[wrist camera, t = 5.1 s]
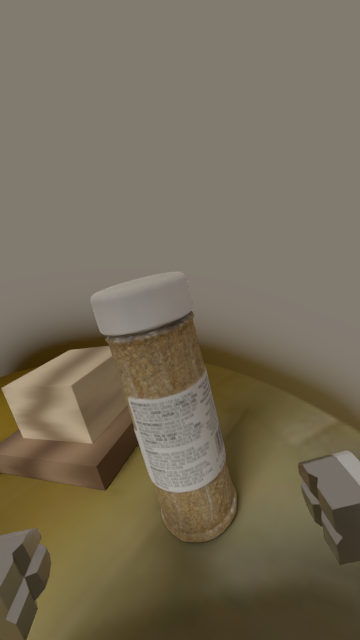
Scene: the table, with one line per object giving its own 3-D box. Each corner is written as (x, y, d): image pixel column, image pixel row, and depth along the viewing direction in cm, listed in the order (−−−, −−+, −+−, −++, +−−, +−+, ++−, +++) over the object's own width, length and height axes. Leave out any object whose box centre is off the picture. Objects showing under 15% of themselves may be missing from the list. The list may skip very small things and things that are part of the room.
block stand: (-4, 472, 23) (-38, 401, 22) (87, 395, 34) (69, 344, 32) (105, 490, 18) (71, 401, 17) (172, 394, 29) (155, 334, 27)
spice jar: (177, 472, 18) (121, 281, 15) (243, 477, 17) (195, 264, 14) (149, 541, 14) (65, 299, 11) (234, 557, 13) (162, 278, 10)
